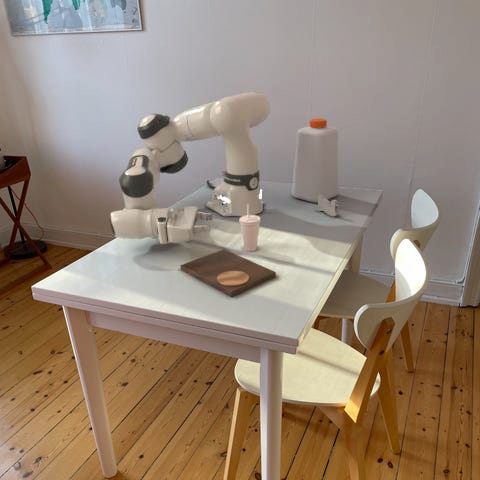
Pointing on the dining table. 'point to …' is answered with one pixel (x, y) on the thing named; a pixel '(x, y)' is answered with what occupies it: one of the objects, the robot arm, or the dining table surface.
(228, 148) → the robot arm
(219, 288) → the serving board
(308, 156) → the plastic bottle
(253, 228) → the smoothie
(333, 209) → the duck shaped cutout
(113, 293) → the dining table surface
